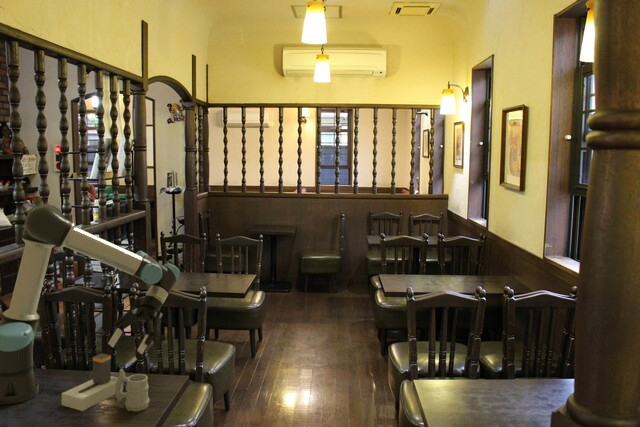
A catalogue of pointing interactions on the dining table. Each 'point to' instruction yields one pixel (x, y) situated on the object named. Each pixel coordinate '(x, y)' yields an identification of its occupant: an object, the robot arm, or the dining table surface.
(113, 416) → the dining table surface
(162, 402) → the dining table surface
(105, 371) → the lever
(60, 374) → the dining table surface
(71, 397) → the switch box
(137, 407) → the mug
